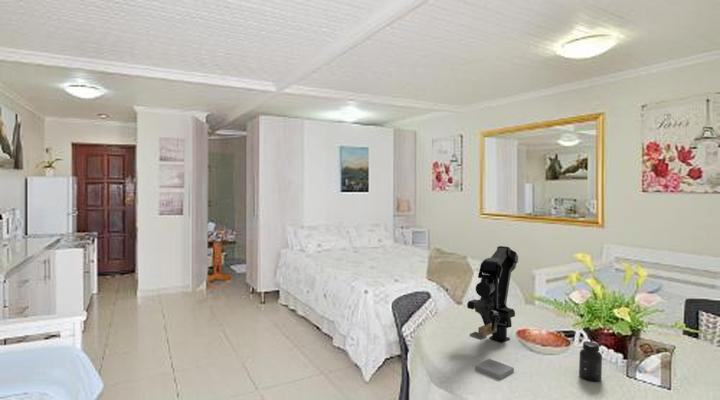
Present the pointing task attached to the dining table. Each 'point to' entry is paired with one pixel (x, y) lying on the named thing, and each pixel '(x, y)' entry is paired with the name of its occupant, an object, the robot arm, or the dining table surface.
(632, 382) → the dining table surface
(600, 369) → the supplement bottle
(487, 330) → the brown wooden slab
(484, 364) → the tile
